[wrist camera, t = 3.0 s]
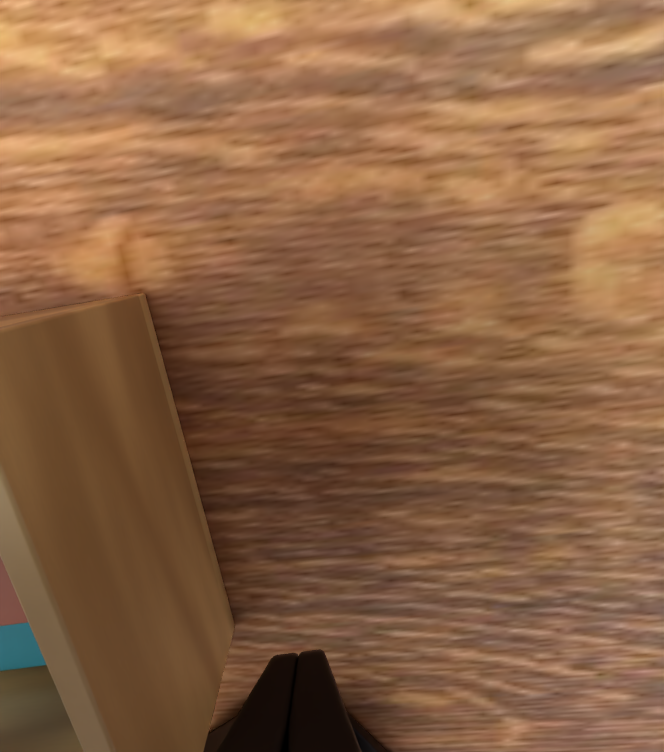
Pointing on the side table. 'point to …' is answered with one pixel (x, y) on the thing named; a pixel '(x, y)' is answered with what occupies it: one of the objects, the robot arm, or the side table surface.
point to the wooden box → (104, 539)
